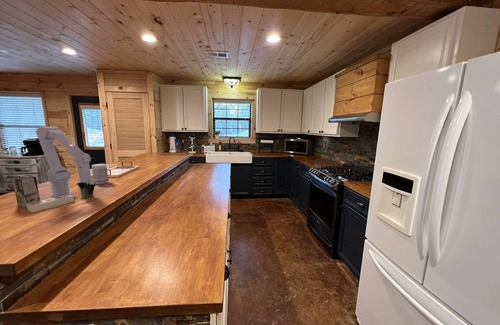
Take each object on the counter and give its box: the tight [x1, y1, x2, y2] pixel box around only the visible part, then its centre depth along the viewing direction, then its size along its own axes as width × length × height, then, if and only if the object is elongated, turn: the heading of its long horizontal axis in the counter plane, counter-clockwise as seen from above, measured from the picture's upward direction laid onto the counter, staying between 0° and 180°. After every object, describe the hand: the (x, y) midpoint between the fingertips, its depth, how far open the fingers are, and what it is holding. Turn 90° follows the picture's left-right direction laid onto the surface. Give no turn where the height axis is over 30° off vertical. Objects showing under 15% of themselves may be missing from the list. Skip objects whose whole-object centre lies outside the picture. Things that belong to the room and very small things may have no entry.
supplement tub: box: [91, 163, 110, 185], centre depth 160 cm, size 10×10×15 cm
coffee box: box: [11, 175, 41, 208], centre depth 115 cm, size 9×6×16 cm
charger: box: [78, 188, 94, 199], centre depth 129 cm, size 6×4×5 cm
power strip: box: [26, 194, 75, 213], centre depth 115 cm, size 18×6×4 cm, turn 154°
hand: (87, 193), depth 131 cm, fingers open, 7 cm apart
